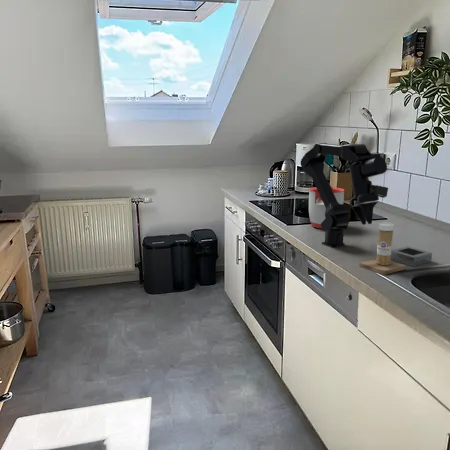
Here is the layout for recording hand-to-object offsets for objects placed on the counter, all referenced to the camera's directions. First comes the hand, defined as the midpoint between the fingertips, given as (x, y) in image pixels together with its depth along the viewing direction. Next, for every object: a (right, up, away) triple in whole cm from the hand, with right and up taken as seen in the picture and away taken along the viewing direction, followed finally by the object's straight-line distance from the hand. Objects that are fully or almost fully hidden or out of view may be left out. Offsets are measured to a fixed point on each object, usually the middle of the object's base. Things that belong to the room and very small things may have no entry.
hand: (367, 224), depth 148 cm
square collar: (+14, -12, -2) cm, 19 cm away
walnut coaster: (+2, -14, -9) cm, 17 cm away
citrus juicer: (-4, -1, +45) cm, 45 cm away
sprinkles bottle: (+2, -13, -9) cm, 16 cm away
